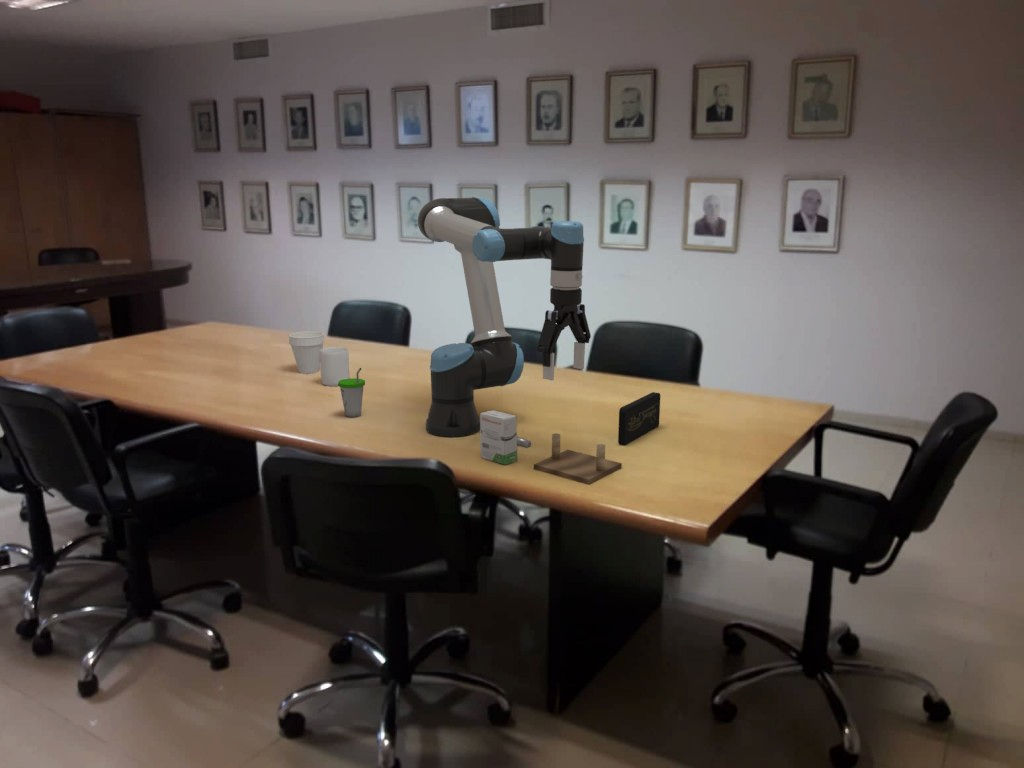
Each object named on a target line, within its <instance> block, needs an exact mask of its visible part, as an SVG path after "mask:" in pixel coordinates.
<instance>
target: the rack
mask: <svg viewBox="0 0 1024 768" xmlns="http://www.w3.org/2000/svg"><path fill="white" fill-rule="evenodd" d="M595 453H596V456H594V455H590V454H587V453H582V452H579V451H575V450H571V449H565V450H564V451H561V434H560V433H556V432H555V433H552V434H551V456H549V457H546V458H545V459H543V460H540V461H538V462H536V463H533V470H535V469H536V470H537V471H539V472H543V473H545V474H546V473H547V474H550V475H554V476H557V477H560V476H561V478H564V479H568V480H571V481H575V482H579V483H582V484H585V485H591V484H592V483H594V482H597V481H598V480H601V479H603V478H604V477H606V476H607V477H608V475H610V474H613V473H614V472H616V471H618V470H620V469H622V465H623V464H622V463H621V462H618V461H615V460H611V459H607V458H606V445H605V444H603V443H602V444H601V443H598V444H596V452H595Z"/></svg>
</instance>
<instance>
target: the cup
mask: <svg viewBox="0 0 1024 768" xmlns="http://www.w3.org/2000/svg"><path fill="white" fill-rule="evenodd" d="M361 370H362V367H359V368H358V370H357V372H356V375H355V376H356V378H355V377H354V378H353V377H352V378H350V379H343V380H340V381H339V382H338V386H337V387H339V388H340V389H339V390H340V395H341V400H342V404H343V410H344V414H345V415H344V416H345V417H346V418H351V419H352V418H353V419H354V418H358V417H361V416H362V408H363V399H364V397H363V396H364V386H365V385H366V380H365V379H362V378H359V374H360V372H361Z"/></svg>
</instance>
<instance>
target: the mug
mask: <svg viewBox="0 0 1024 768" xmlns="http://www.w3.org/2000/svg"><path fill="white" fill-rule="evenodd" d="M349 360H350V359H349V348H347V347H345V346H331V347H323V348H322V349H320V365H319V367H320V378H321V379H320V380H321V384H322V385H323V386H326V387H339V386H338V382H339V381H340V380H343V379H351V378H350V361H349Z"/></svg>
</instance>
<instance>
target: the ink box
mask: <svg viewBox="0 0 1024 768" xmlns="http://www.w3.org/2000/svg"><path fill="white" fill-rule="evenodd" d="M479 419H480V430H479V431H480V433H479V434H480V457H481V458H482V459H485V460H488V461H491V462H494V463H498V464H499V465H504V466H507V465H509V464H512V463H515V462H516V461H518V445H517V437H518V436H517V435H518V434H517V431H518V430H517V429H518V428H517V425H518V424H517V415H514V414H510V413H507V412H506V413H505V412H503V411H499V410H494V409H492V410H488V411H483V412H481V413H479Z"/></svg>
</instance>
